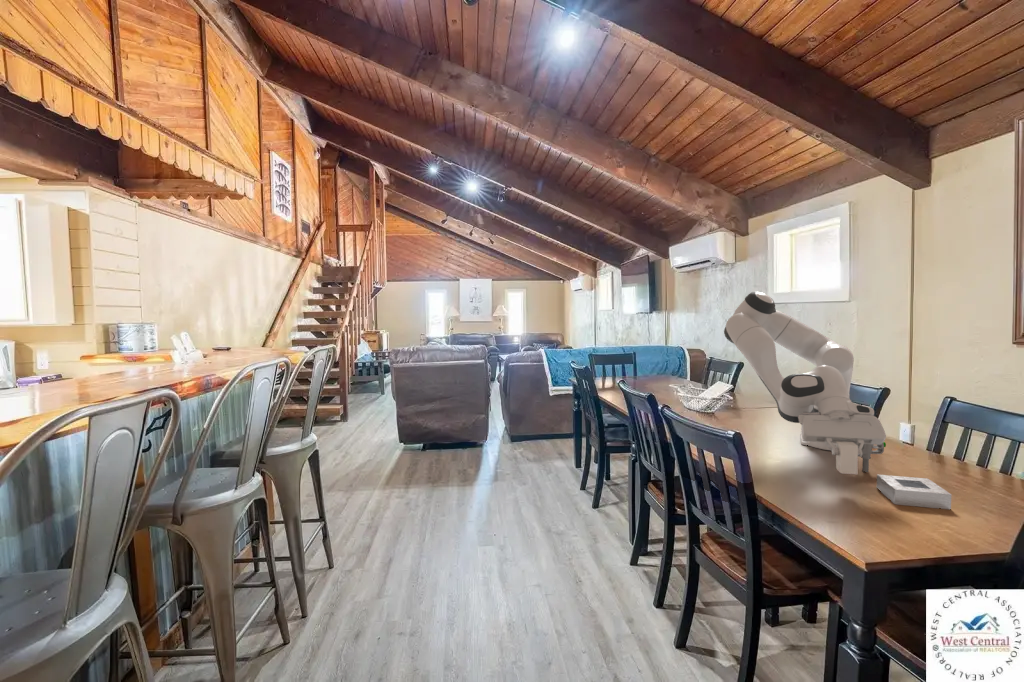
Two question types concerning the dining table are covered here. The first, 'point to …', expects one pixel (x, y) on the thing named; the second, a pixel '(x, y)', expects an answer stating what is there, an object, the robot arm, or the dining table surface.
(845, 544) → the dining table surface
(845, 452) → the plug
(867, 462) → the mechanical component
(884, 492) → the grey square socket base
